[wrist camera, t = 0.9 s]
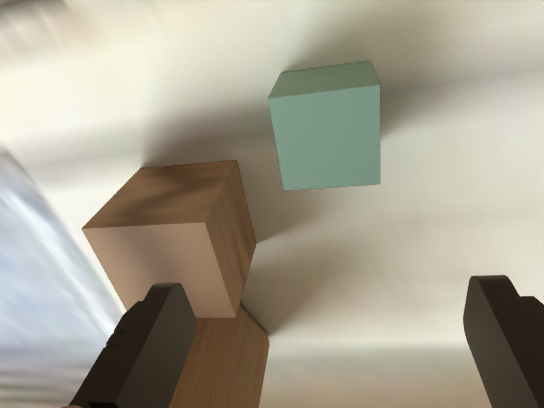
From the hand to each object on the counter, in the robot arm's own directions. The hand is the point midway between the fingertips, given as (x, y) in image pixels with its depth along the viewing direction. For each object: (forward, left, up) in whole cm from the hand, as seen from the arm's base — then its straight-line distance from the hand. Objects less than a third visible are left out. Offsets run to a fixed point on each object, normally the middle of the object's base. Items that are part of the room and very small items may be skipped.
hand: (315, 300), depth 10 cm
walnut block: (+11, +7, -16) cm, 21 cm away
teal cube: (0, 0, -16) cm, 16 cm away
